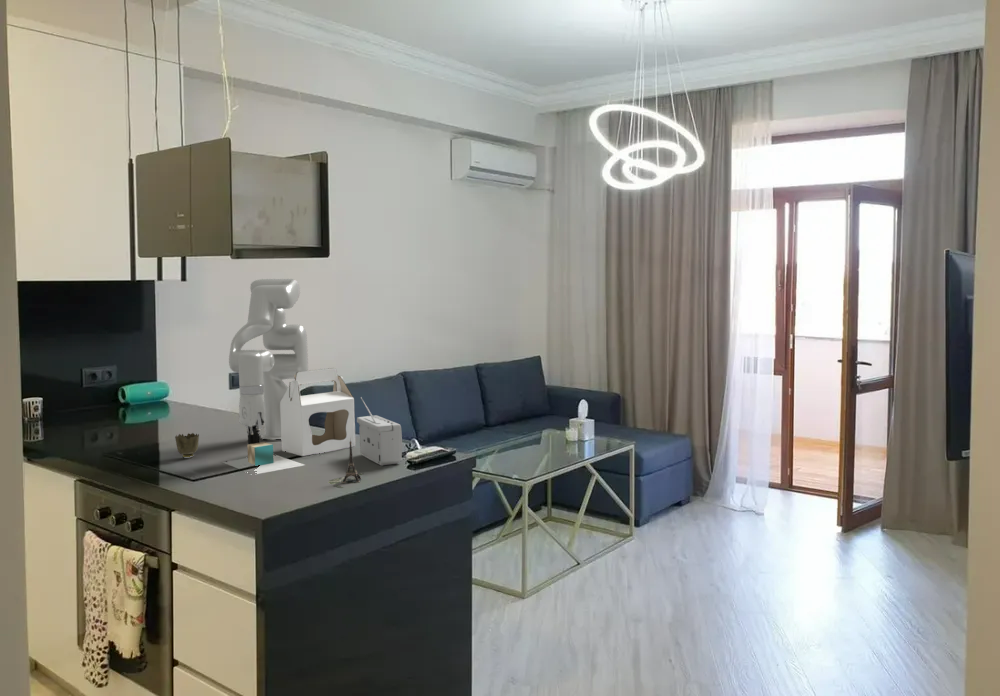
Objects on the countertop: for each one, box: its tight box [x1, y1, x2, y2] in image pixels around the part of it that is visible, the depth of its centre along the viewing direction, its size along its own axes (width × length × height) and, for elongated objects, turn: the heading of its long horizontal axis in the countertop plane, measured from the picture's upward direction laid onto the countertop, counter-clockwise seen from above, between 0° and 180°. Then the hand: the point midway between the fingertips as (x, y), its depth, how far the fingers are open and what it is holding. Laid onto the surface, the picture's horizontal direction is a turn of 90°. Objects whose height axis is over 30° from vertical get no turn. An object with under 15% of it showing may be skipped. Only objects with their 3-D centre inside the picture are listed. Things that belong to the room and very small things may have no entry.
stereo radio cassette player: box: [356, 396, 403, 467], centre depth 261 cm, size 21×8×20 cm, turn 30°
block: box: [246, 441, 274, 466], centre depth 257 cm, size 6×6×6 cm
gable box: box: [280, 367, 356, 457], centre depth 278 cm, size 22×13×28 cm, turn 137°
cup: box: [174, 432, 200, 457], centre depth 267 cm, size 8×7×8 cm
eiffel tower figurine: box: [327, 438, 364, 488], centre depth 235 cm, size 15×10×13 cm
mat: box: [246, 454, 305, 476], centre depth 257 cm, size 24×18×1 cm
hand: (253, 445), depth 261 cm, fingers closed
